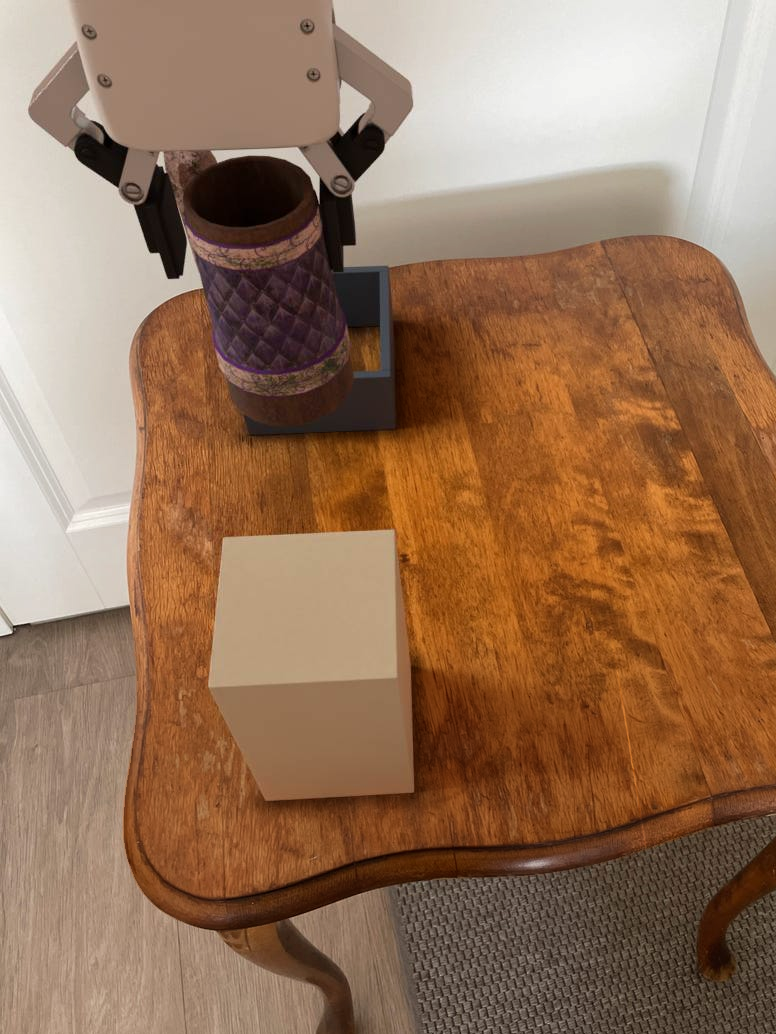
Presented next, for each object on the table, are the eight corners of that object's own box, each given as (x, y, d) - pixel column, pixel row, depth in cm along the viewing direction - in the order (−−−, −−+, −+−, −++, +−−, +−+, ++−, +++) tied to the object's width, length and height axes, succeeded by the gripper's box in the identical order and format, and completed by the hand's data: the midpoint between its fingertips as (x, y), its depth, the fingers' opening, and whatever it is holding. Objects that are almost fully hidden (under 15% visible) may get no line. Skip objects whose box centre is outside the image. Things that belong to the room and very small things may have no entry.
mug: (381, 391, 52) (355, 187, 42) (274, 452, 50) (218, 252, 40) (280, 300, 56) (233, 95, 46) (176, 352, 54) (103, 149, 44)
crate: (248, 435, 80) (233, 382, 75) (258, 325, 87) (245, 270, 82) (395, 429, 81) (390, 376, 76) (393, 320, 88) (388, 265, 83)
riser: (265, 801, 63) (207, 687, 49) (273, 672, 68) (222, 536, 54) (414, 793, 63) (397, 677, 50) (410, 665, 68) (395, 528, 55)
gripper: (411, -239, 34) (427, 206, 49) (-78, -234, 33) (90, 219, 48) (421, -156, 30) (435, 300, 45) (-133, -147, 29) (69, 316, 44)
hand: (257, 256), depth 47 cm, fingers closed on mug, 7 cm apart
